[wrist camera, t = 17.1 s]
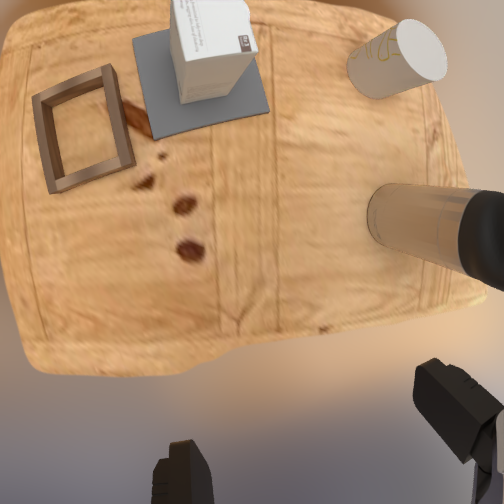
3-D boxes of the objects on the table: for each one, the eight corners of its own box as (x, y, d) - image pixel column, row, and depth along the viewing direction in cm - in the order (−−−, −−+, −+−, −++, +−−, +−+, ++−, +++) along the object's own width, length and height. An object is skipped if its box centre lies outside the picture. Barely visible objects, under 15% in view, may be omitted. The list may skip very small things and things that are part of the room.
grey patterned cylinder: (364, 39, 36) (412, 9, 25) (401, 78, 38) (454, 58, 27) (336, 69, 36) (385, 39, 25) (377, 110, 39) (433, 93, 27)
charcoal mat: (240, 19, 32) (241, 16, 32) (267, 113, 36) (269, 111, 35) (133, 41, 30) (132, 38, 30) (154, 140, 34) (153, 139, 33)
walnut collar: (116, 73, 31) (110, 63, 28) (136, 165, 34) (131, 163, 31) (42, 103, 30) (31, 96, 26) (60, 193, 33) (49, 194, 29)
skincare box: (169, 48, 31) (164, -20, 17) (218, 39, 32) (238, -30, 18) (181, 109, 33) (180, 62, 19) (232, 98, 34) (262, 49, 20)
